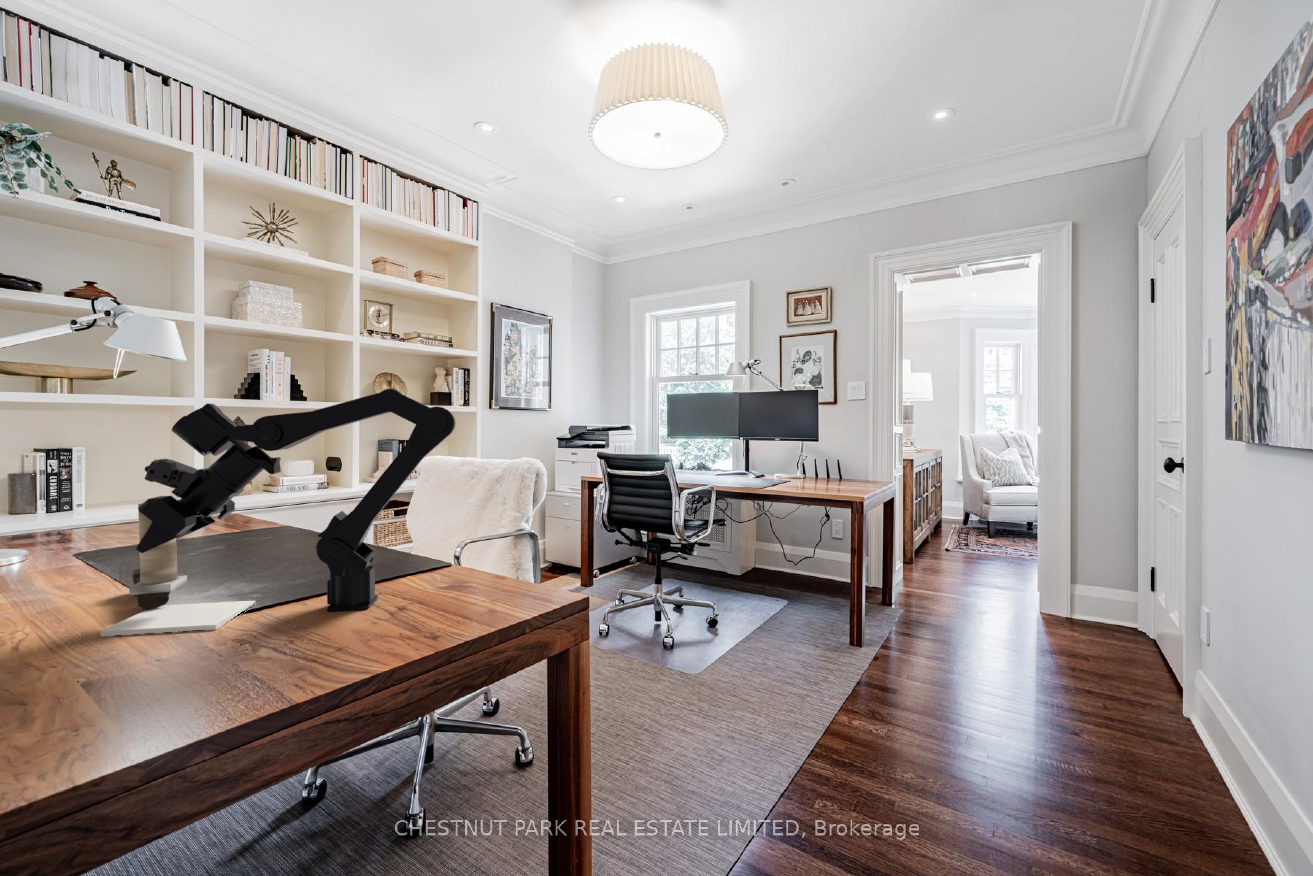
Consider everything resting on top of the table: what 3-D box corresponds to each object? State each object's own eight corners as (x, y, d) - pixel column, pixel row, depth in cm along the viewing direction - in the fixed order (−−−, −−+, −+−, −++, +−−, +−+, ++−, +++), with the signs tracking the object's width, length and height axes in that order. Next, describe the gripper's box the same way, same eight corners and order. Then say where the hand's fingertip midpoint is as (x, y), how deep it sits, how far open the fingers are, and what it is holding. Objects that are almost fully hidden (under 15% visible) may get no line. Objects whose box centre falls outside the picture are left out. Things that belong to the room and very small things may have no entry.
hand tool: (171, 605, 94) (168, 578, 94) (139, 612, 91) (136, 584, 91) (161, 587, 108) (158, 563, 108) (132, 593, 105) (130, 568, 105)
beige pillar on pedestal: (187, 582, 93) (185, 500, 93) (170, 591, 88) (168, 504, 88) (148, 585, 91) (146, 501, 91) (129, 594, 87) (127, 506, 86)
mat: (255, 605, 98) (255, 600, 98) (215, 629, 86) (215, 624, 86) (155, 610, 95) (155, 605, 95) (100, 636, 83) (100, 631, 83)
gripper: (212, 439, 99) (136, 505, 96) (153, 443, 81) (58, 523, 78) (265, 482, 102) (193, 548, 99) (219, 495, 84) (130, 575, 81)
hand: (147, 547), depth 89 cm, fingers closed on beige pillar on pedestal, 4 cm apart
